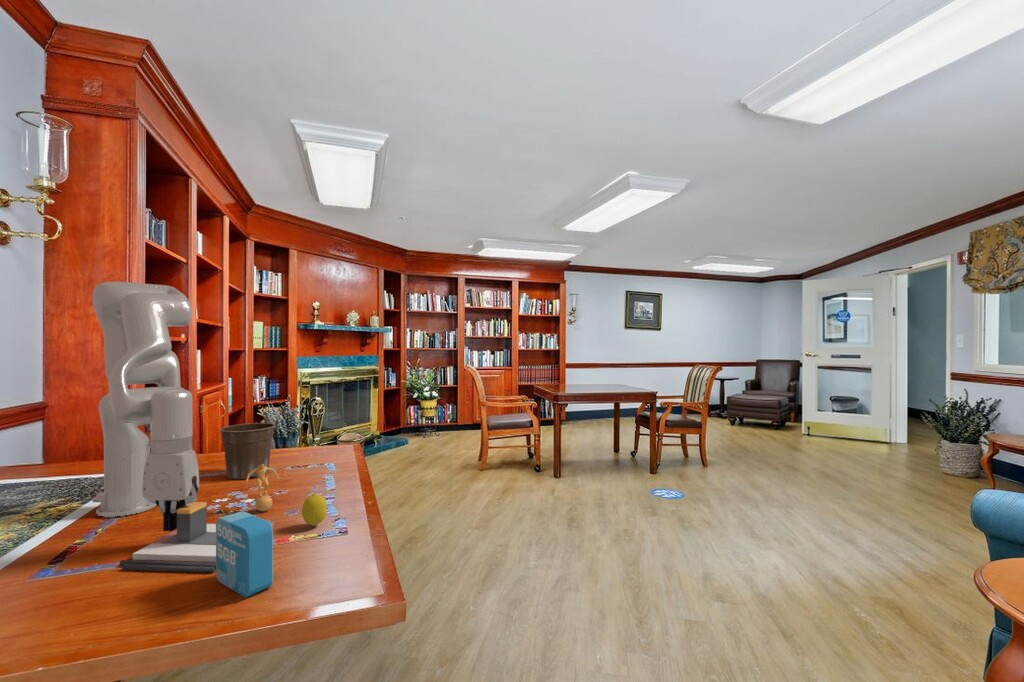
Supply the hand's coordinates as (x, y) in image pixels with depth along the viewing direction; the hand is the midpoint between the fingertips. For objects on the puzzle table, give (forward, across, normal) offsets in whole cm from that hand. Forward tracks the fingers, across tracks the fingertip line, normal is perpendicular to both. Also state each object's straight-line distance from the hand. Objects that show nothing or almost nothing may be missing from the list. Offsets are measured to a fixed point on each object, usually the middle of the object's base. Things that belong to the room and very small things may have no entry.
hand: (172, 528), depth 105 cm
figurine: (+3, +8, +21) cm, 23 cm away
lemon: (+4, +27, +11) cm, 29 cm away
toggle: (+2, +4, 0) cm, 5 cm away
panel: (+3, +8, 0) cm, 9 cm away
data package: (+4, +27, -16) cm, 31 cm away
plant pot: (+3, -16, +52) cm, 55 cm away
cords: (+3, +8, -10) cm, 13 cm away
